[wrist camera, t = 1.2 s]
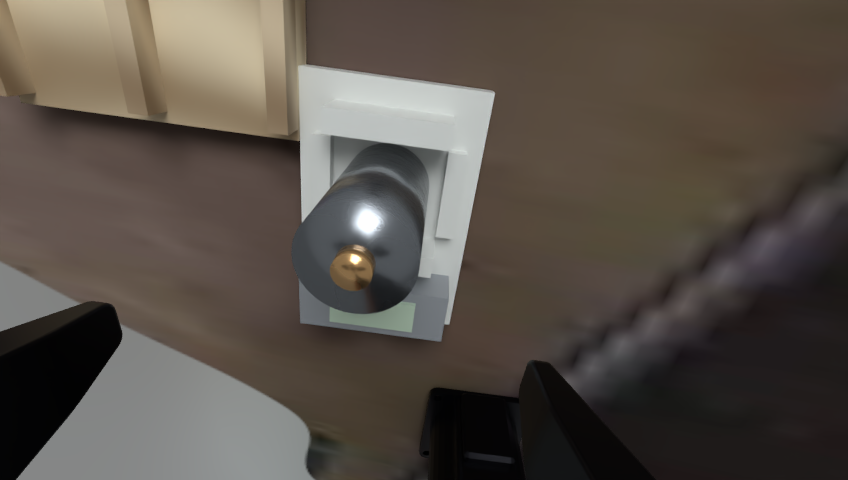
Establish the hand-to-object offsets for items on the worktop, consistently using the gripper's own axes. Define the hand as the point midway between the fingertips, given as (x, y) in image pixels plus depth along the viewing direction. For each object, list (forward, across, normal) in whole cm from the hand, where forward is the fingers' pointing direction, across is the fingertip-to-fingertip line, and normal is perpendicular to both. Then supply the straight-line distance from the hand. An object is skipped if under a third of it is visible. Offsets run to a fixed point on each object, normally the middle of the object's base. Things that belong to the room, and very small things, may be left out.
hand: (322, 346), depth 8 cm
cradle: (+12, 0, +1) cm, 12 cm away
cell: (+10, 0, 0) cm, 11 cm away
